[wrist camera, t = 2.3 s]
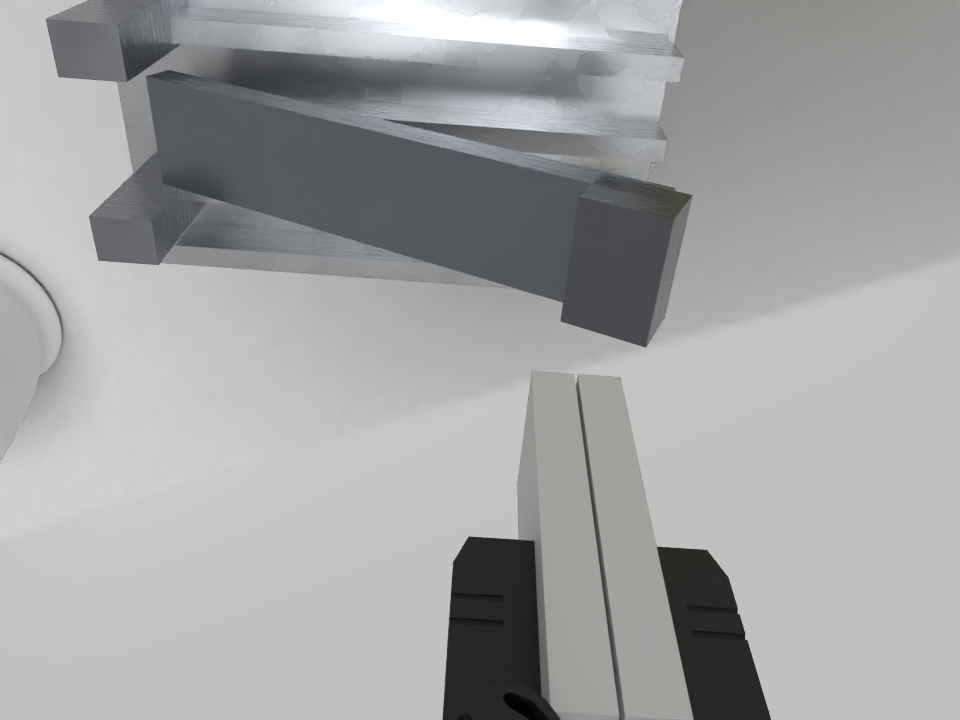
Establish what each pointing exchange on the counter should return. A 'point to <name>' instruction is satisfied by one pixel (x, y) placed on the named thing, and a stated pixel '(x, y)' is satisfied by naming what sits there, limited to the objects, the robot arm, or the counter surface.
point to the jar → (23, 345)
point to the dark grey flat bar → (431, 198)
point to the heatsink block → (371, 101)
